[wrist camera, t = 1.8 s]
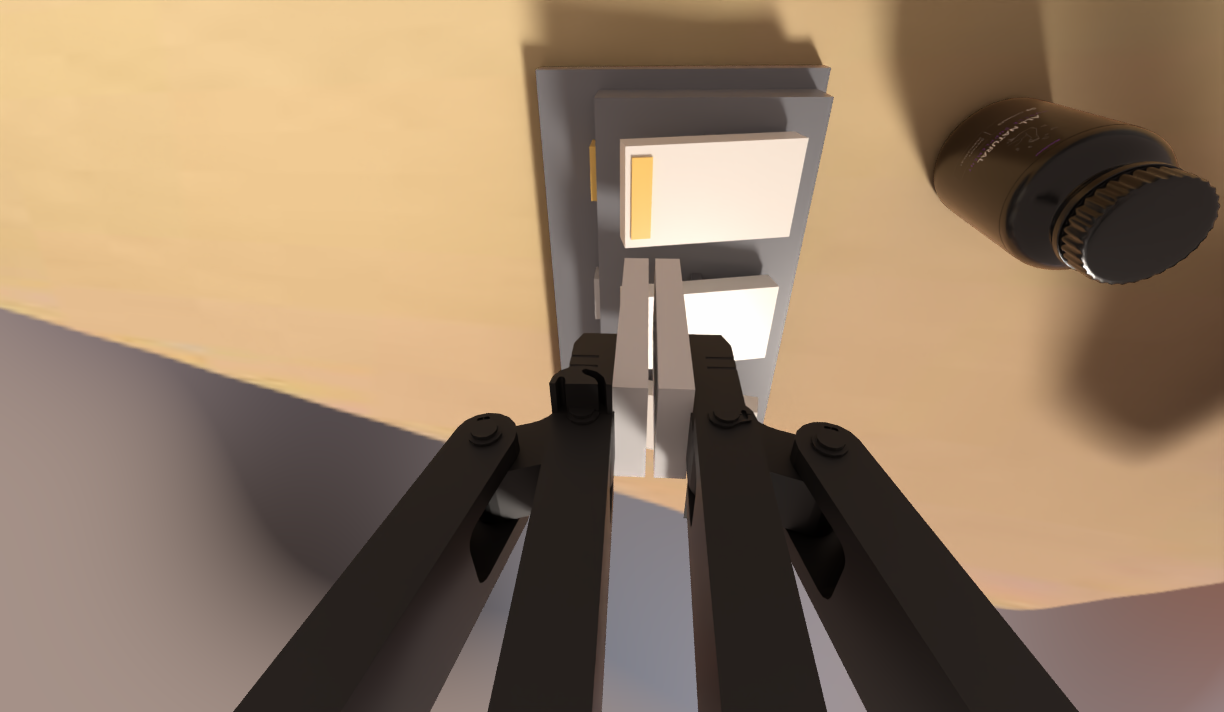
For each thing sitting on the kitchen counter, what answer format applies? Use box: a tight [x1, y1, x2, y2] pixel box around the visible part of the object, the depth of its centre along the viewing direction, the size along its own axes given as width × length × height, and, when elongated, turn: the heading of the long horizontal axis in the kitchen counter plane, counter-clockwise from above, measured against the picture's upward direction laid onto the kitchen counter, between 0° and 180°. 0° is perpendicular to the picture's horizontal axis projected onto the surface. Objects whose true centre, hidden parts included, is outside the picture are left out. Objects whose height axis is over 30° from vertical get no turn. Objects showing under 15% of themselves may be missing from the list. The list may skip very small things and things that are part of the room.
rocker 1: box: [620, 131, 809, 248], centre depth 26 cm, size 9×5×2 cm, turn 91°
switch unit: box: [536, 65, 834, 424], centre depth 34 cm, size 16×26×6 cm, turn 1°
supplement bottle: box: [934, 97, 1220, 285], centre depth 25 cm, size 7×7×12 cm
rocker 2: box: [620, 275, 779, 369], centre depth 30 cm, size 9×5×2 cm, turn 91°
